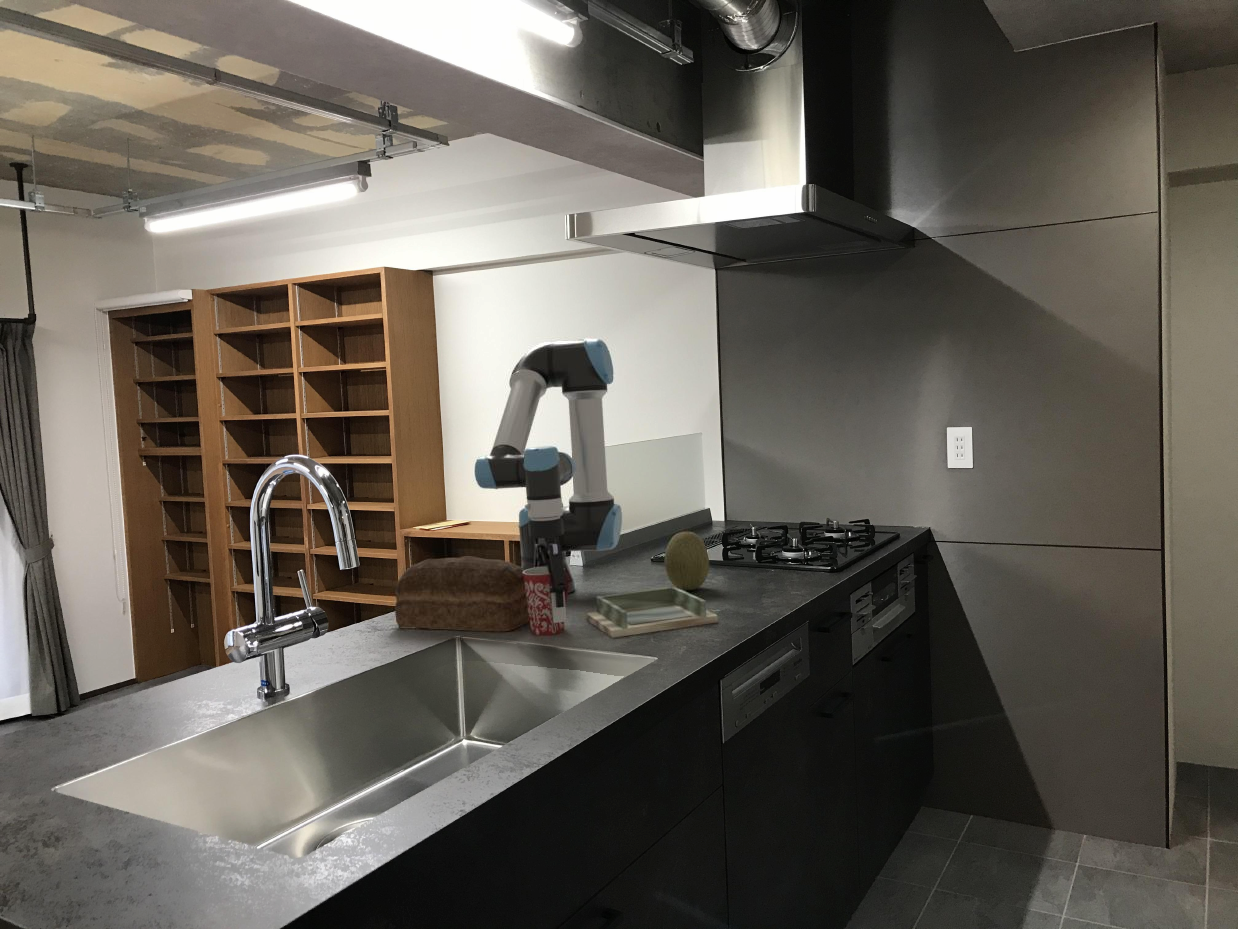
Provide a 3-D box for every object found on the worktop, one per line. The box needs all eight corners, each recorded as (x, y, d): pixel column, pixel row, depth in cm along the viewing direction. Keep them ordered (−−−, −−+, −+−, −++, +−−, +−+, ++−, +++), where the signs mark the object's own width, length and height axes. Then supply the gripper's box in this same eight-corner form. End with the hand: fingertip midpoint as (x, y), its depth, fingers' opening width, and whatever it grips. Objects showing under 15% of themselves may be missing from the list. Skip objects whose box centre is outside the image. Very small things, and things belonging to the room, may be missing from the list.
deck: (587, 620, 214) (585, 598, 214) (685, 606, 222) (684, 585, 221) (612, 637, 197) (610, 613, 197) (717, 622, 205) (716, 599, 204)
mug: (551, 638, 200) (547, 575, 199) (518, 634, 205) (513, 572, 204) (586, 624, 210) (582, 564, 209) (554, 621, 215) (550, 562, 214)
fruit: (658, 589, 244) (655, 531, 242) (697, 583, 248) (694, 526, 247) (678, 596, 233) (675, 536, 232) (719, 590, 237) (715, 531, 236)
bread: (424, 615, 231) (419, 550, 230) (542, 618, 219) (538, 550, 218) (388, 630, 217) (383, 561, 216) (513, 634, 206) (508, 562, 205)
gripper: (516, 514, 216) (522, 607, 218) (542, 525, 193) (549, 630, 195) (548, 511, 219) (554, 603, 220) (577, 522, 195) (584, 625, 197)
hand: (552, 616), depth 207 cm, fingers open, 12 cm apart
